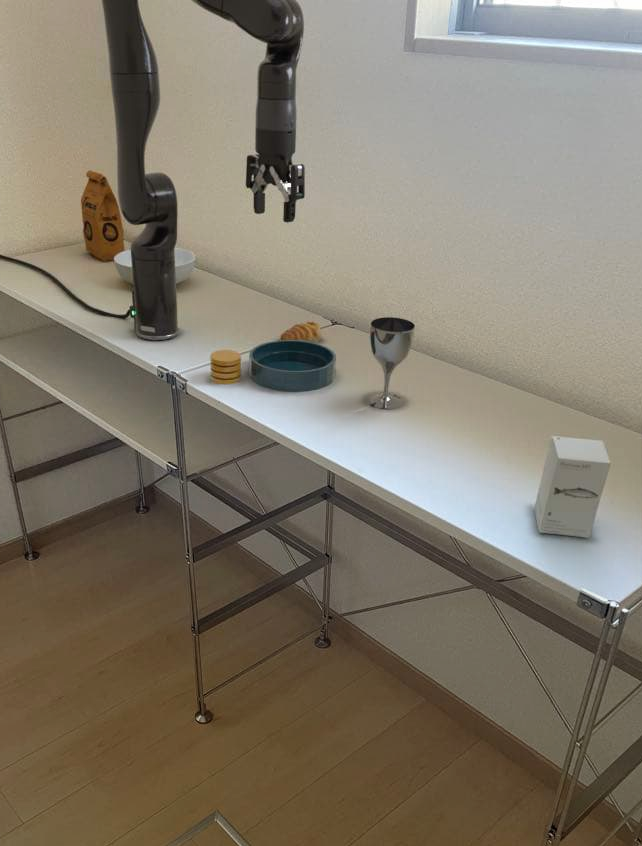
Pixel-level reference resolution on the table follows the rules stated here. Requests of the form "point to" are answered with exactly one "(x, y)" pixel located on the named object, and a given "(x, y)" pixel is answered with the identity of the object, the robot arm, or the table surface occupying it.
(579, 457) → the white packaging box
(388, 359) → the wine glass
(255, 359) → the bowl
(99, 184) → the coffee package
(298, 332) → the pastry
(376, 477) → the table surface
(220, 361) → the tan ridged cylinder
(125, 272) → the serving bowl
